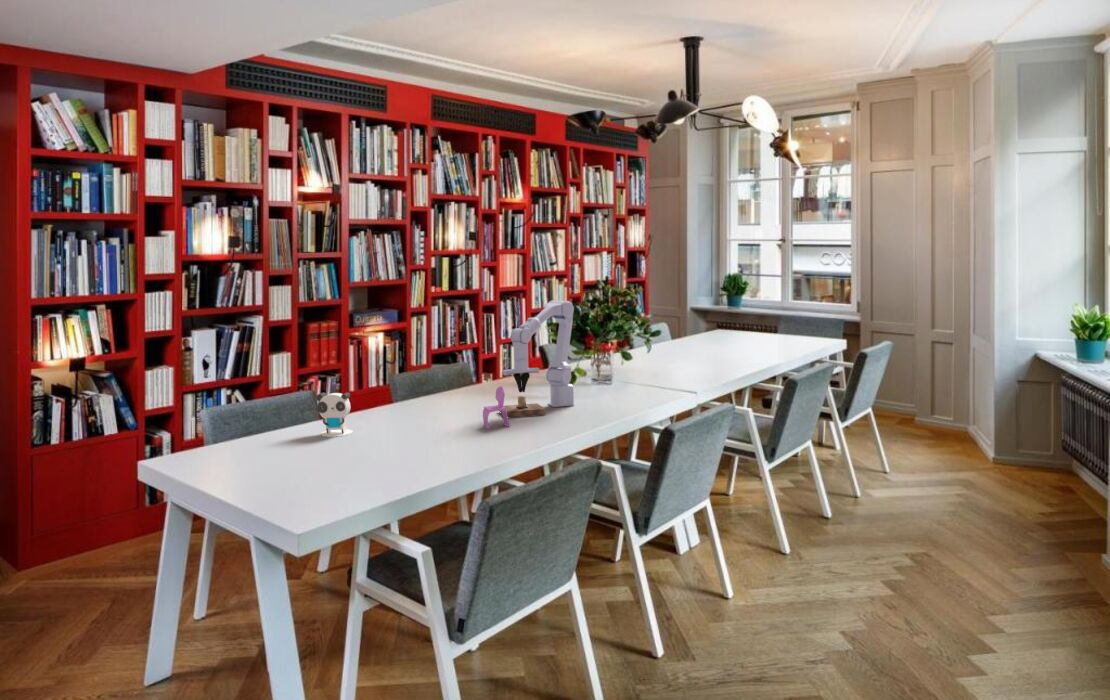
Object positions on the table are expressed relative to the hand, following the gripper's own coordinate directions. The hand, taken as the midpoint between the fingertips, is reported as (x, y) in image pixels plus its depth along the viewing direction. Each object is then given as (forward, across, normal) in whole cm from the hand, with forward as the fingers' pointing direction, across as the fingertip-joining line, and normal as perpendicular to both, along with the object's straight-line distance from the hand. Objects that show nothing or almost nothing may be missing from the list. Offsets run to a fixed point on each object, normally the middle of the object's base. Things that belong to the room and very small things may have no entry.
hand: (521, 391), depth 327 cm
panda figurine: (+9, +73, +9) cm, 74 cm away
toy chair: (+9, +15, +19) cm, 26 cm away
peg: (+9, 0, 0) cm, 9 cm away
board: (+9, 0, 0) cm, 9 cm away
